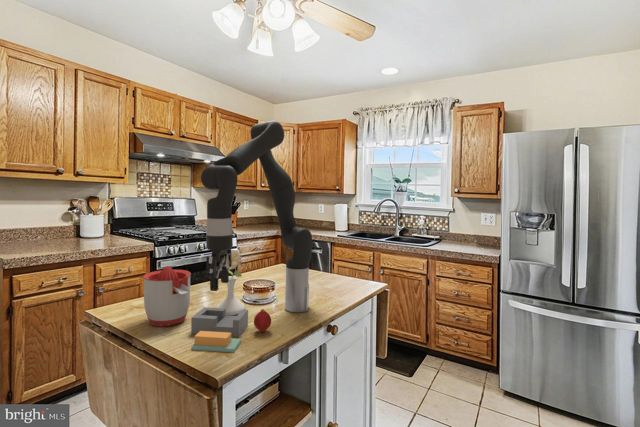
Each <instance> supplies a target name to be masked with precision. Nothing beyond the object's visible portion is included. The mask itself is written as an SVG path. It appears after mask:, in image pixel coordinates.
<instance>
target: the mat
mask: <svg viewBox="0 0 640 427" xmlns="http://www.w3.org/2000/svg"><path fill="white" fill-rule="evenodd" d="M241 343H242V338H235V337H234V338H233V337H232V338H231V342H230V343H229V344H228V346H213V345H197V344H195V342H193V344H192V345H191V347H190V348H191V350H192V351H193V350H194V351H205V352H218V353H219V352H222V353H235V351H236V350H238V347H239V346H240V345H241Z"/></svg>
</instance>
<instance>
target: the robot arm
mask: <svg viewBox="0 0 640 427" xmlns="http://www.w3.org/2000/svg"><path fill="white" fill-rule="evenodd" d="M250 139H251V140H248V141H247V142H245V143H243V144H241V145H239V146H237V147H236V148H234V149H233V150H232V151H231V152H230V153H228V154H227V155H226V156H224V157H222V158H220V159H218V160H215V161H213V162H212V163H210V164H208V165H207V166H205V167H204V168H203V170H202V172H201V173H200V182H201V183H202V185H203V187H204V188H206V189H209V190H218V192H217V194H216V196H215V197H212V198H209V199H208V200H207V203H206V223H205V224H206V228H205V231H206V233H205V235H206V239H205V241H206V249H207V250H209V251H211V255H210V256H209V255H208V256H206V260H205V261H206V262H205V265H206V266H205V268H206V269H205V270H206V271H205V276H206V278H208V279H209V290H210V292H217V291H219V275H220V282H221V283H222V284H227V282H228V281H229V276H230V275H229V274H230V273H229V271H230V270H229V269H230V267H231V266H232V261H231V251H232V249H233V247H234V246H233V240H234V239H233V238H234V237H233V235H234V234H233V228H234V227H233V221H232V220H233V219H232V217H233V216H232V212H233V211H232V205H233V201H234V197H235V193H236V190H237V186H238V176H240V175H242V174H243V173H244V172H245V171H246V170H247V169H248V168H250V166H251V165H253V164H254V163H255V162H256V161H257V160H259V162H260V165H261V166H262V170H263V173H264V177H265V179H266V183H267V186H268V190H269V193H270V196H271V200H272V203H273V205H274V209H275V212H276V215H277V220H278V224H279V228H280V233H281V234H280V235H281V238H282V239H281V240H282V242H283V244H284V246H285V247H286V248H287V249H290V250H293V252H292V256H291V257H289V258H287V260H286V261H285V296H284V298H285V299H284V301H285V302H284V308H285V309H284V310H286V312H291V313H303V312H308V310H309V301H310V297H309V296H310V283H309V280H310V279H309V278H310V277H309V275H310V274H309V272H310V262H311V259H312V252H313V251H312V250H313V235H312V232H311V231H310V230H309V229H308V228H305V227H298V224H297V222H296V219H295V216H294V208H295V202H296V191H295V190H296V189H295V187H294V184H293V180H292V178H291V176H290V174H288V173H287V172H286V170H285V169H284V168H283V167H282V166H281V165H280V164H279V163H278V161H276V159H275V157H274V155H273V152H272V150H273V149H274V148H276V147H278V146H280V145H281V144H282V143H283V141H284V139H285V129H284V127H283V125H282V124H281V123H280V122H279V121H277V120H268V121H264V122H259V123H255V124H254V125H252V126H251V129H250ZM228 270H229V271H228Z"/></svg>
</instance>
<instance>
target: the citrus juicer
mask: <svg viewBox="0 0 640 427" xmlns="http://www.w3.org/2000/svg"><path fill="white" fill-rule="evenodd" d="M191 275H192V273H191V272H190V271H188V270H187V269H186V270H185V269H173V268H172V267H171V266H169V265H166V266H165V267H164V268H162V270H160V269H159V270H156V271H151V272H147V273H145V274H144V275H143V276H142V278H143V303H144V304H143V305H144V310H145V314H146V318H147V320H148V322H149V324H150V325H152V326H154V327H155V326H156V327H163V328H164V327H165V328H167V327H169V326H173V325H177V324H179V323H182V322H183V321H184V320H185V319H186V317H187V316H188V312H189V308H190V302H191Z"/></svg>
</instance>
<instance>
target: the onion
mask: <svg viewBox="0 0 640 427" xmlns="http://www.w3.org/2000/svg"><path fill="white" fill-rule="evenodd" d="M271 324H272V317H271V315H270V314H269V313H268V312H267V311H266V310H265V309H264V308H261V309H260V311H258V312H257V313H256V314H255V316H254V318H253V325H254V327H255V329H257V330H258V331H259V332H261V333H264V332H265V331H267V330H268V329H269V328H270V327H271Z"/></svg>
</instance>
